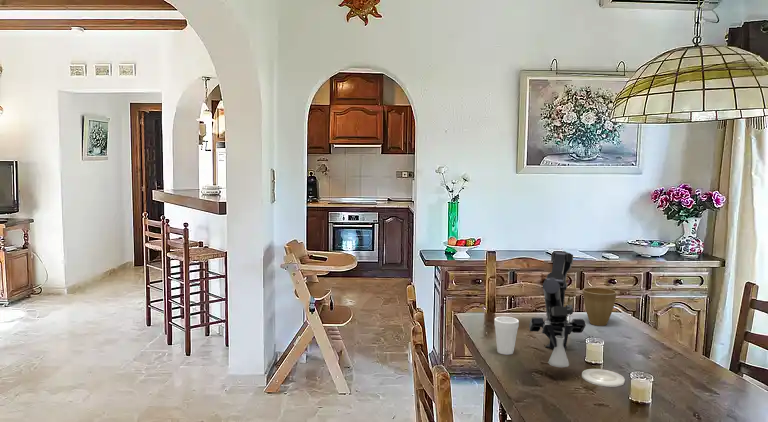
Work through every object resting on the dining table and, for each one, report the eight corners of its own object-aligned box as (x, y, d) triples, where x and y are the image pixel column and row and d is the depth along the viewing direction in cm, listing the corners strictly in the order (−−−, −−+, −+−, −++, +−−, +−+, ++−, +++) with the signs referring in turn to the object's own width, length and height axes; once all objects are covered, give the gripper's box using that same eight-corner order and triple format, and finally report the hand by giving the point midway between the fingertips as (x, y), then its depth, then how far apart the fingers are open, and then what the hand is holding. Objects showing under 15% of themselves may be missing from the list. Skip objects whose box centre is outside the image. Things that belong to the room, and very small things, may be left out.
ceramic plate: (591, 368, 209) (591, 365, 209) (630, 379, 200) (630, 376, 200) (575, 378, 199) (575, 375, 199) (615, 390, 189) (615, 387, 189)
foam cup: (503, 357, 219) (504, 324, 218) (488, 349, 227) (489, 318, 226) (522, 353, 224) (523, 321, 222) (507, 346, 232) (508, 315, 231)
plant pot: (615, 321, 272) (617, 289, 270) (614, 330, 258) (616, 295, 257) (582, 317, 278) (584, 285, 276) (579, 325, 264) (581, 291, 263)
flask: (570, 369, 196) (571, 340, 195) (548, 367, 197) (549, 339, 196) (568, 361, 203) (569, 334, 202) (547, 359, 204) (548, 332, 203)
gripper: (532, 295, 202) (537, 335, 192) (585, 297, 201) (593, 337, 191) (526, 311, 210) (531, 350, 200) (577, 312, 210) (585, 351, 200)
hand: (560, 347), depth 198 cm, fingers closed on flask, 3 cm apart
